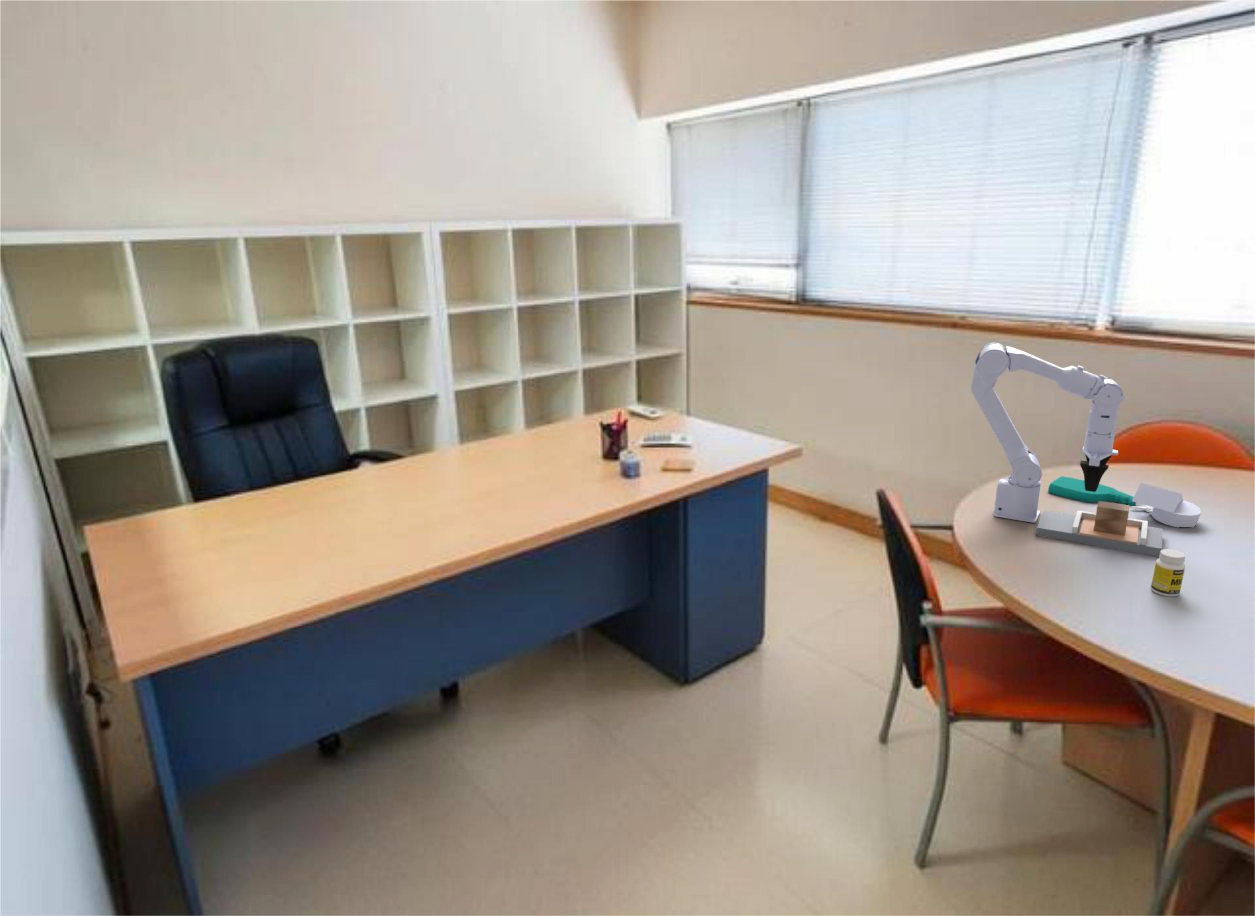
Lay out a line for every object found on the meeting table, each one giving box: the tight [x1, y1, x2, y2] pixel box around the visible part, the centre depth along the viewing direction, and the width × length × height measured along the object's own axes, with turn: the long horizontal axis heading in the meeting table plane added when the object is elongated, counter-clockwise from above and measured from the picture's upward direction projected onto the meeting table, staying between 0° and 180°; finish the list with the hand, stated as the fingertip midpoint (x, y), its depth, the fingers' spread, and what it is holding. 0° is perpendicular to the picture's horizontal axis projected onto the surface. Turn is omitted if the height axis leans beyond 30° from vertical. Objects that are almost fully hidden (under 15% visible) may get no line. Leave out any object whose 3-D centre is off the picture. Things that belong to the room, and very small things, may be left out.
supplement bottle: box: [1150, 548, 1186, 598], centre depth 147 cm, size 5×5×8 cm
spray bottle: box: [1048, 476, 1154, 516], centre depth 193 cm, size 3×11×24 cm
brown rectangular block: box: [1094, 501, 1131, 536], centre depth 169 cm, size 6×4×6 cm, turn 55°
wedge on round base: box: [1132, 482, 1202, 528], centre depth 179 cm, size 9×7×13 cm
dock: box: [1035, 509, 1164, 557], centre depth 172 cm, size 24×12×4 cm, turn 55°
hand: (1092, 485), depth 178 cm, fingers open, 7 cm apart
